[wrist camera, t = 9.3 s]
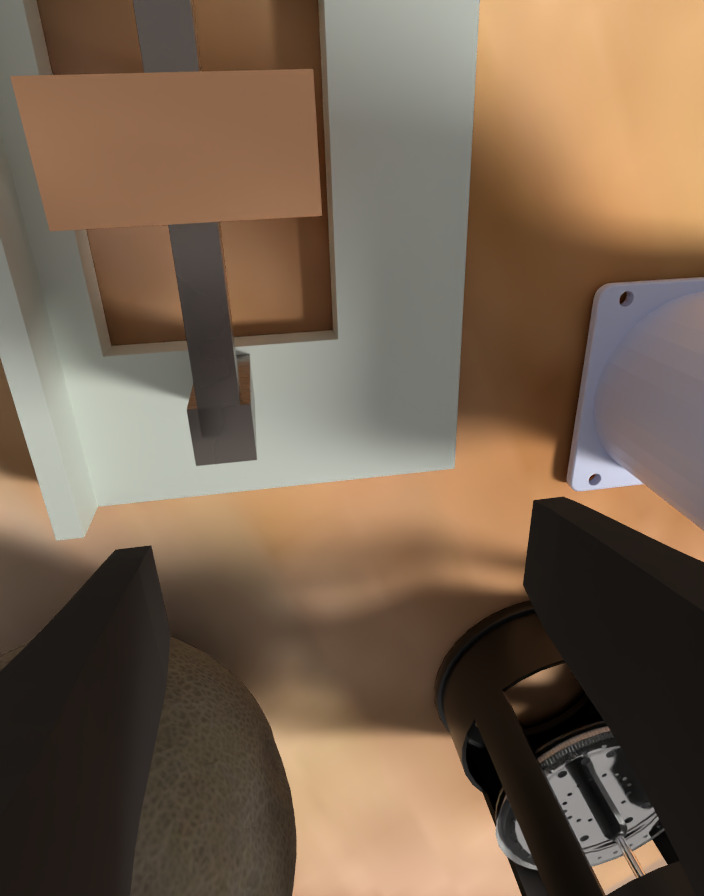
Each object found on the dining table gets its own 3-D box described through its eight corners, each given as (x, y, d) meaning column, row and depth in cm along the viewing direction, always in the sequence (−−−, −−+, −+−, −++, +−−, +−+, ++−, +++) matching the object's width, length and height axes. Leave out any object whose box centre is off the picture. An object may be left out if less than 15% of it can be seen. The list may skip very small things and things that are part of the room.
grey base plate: (485, -486, 12) (553, -671, 9) (444, 454, 22) (472, 493, 19) (-206, -572, 10) (-363, -831, 8) (81, 491, 20) (56, 540, 17)
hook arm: (210, -12, 15) (188, -127, 9) (254, 387, 19) (257, 474, 14) (149, -13, 14) (88, -131, 9) (208, 390, 19) (193, 481, 14)
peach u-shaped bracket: (291, 102, 15) (313, 68, 10) (299, 202, 16) (322, 215, 11) (89, 108, 14) (10, 76, 9) (111, 213, 15) (49, 231, 10)
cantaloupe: (135, 471, 20) (-87, 1076, 7) (339, 697, 26) (436, 1238, 13) (-181, 665, 21) (-909, 1507, 8) (87, 836, 28) (-63, 1463, 14)
